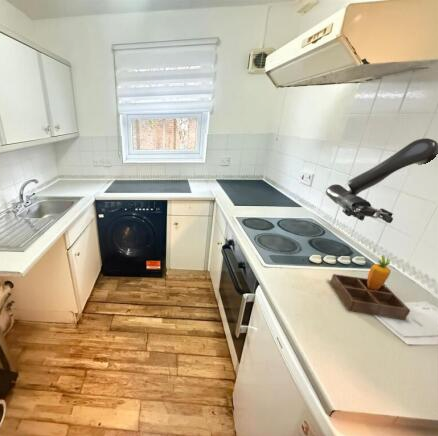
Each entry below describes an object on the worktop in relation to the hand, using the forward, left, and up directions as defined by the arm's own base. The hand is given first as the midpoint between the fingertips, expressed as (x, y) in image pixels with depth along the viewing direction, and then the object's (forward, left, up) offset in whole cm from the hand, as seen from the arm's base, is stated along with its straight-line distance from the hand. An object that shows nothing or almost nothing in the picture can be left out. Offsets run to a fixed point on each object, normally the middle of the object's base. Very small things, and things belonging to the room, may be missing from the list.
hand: (376, 219), depth 88 cm
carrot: (0, +12, -24) cm, 27 cm away
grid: (+4, +16, -25) cm, 30 cm away
